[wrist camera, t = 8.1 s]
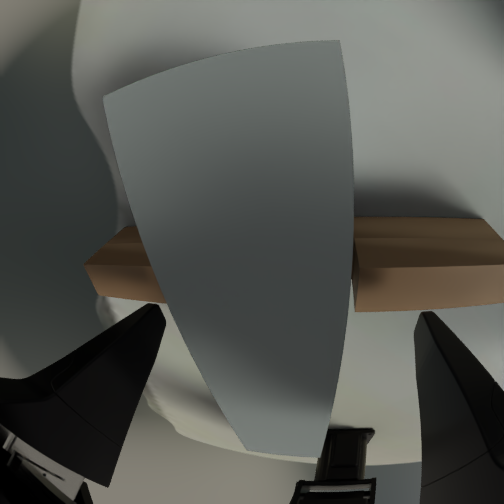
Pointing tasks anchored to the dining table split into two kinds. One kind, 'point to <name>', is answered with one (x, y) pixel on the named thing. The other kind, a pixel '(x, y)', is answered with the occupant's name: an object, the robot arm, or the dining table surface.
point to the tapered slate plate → (249, 226)
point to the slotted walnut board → (359, 265)
